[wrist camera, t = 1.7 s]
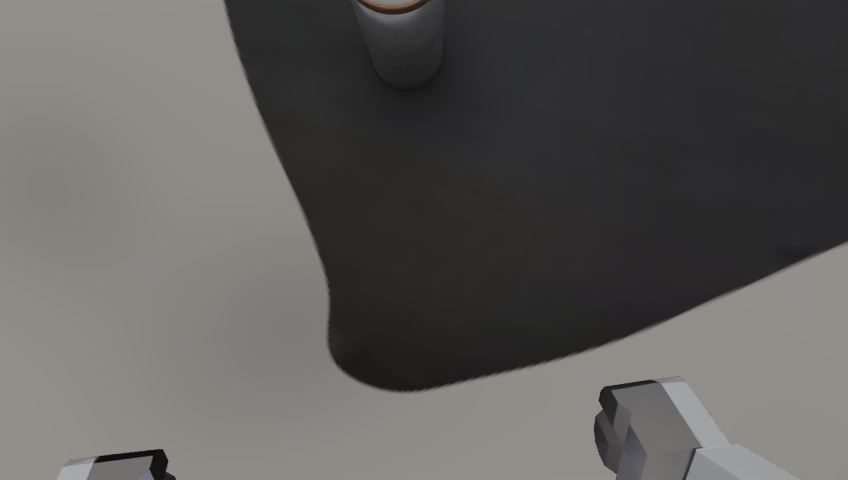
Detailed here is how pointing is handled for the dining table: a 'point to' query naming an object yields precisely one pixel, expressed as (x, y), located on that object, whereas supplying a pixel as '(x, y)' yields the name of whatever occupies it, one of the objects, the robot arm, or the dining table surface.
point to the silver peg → (403, 38)
